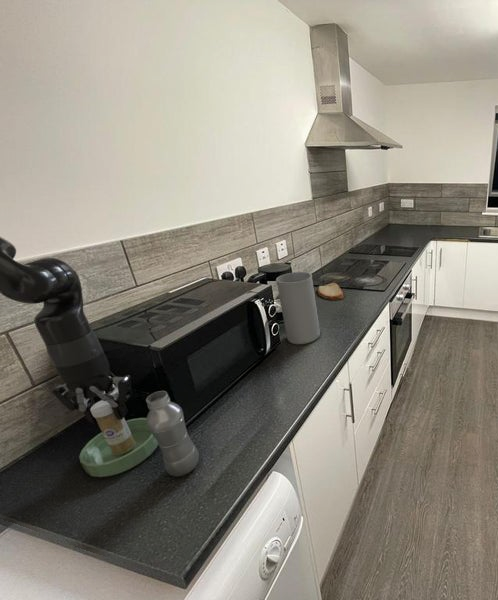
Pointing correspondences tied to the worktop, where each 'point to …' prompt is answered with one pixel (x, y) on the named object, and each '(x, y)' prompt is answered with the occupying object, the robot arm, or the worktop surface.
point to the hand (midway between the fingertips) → (109, 418)
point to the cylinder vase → (298, 307)
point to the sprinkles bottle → (113, 428)
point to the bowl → (104, 463)
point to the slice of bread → (330, 292)
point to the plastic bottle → (171, 434)
